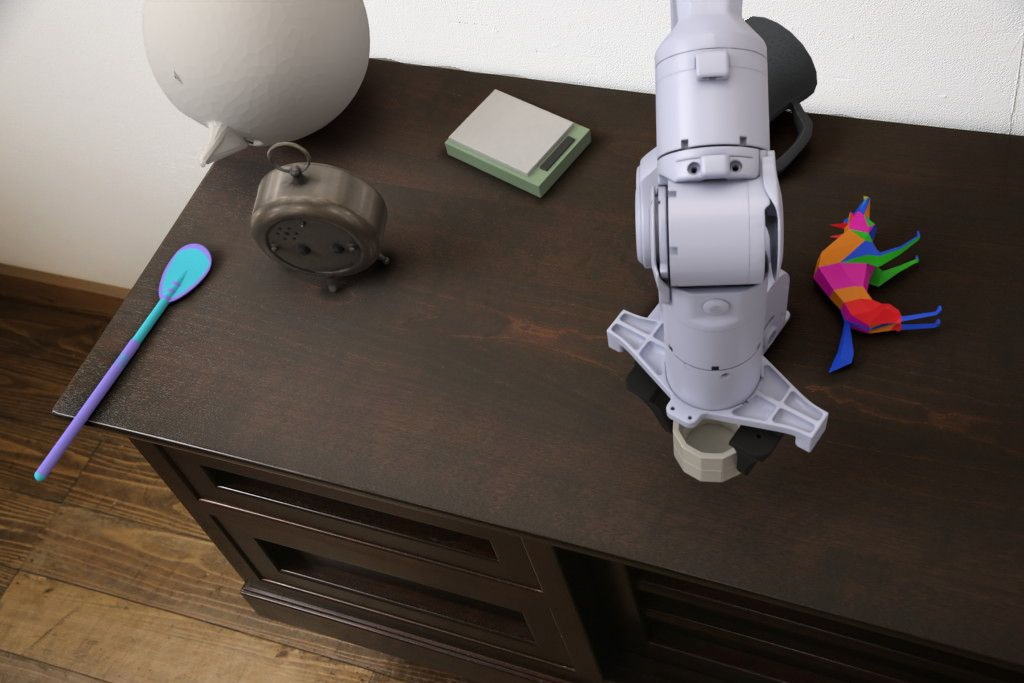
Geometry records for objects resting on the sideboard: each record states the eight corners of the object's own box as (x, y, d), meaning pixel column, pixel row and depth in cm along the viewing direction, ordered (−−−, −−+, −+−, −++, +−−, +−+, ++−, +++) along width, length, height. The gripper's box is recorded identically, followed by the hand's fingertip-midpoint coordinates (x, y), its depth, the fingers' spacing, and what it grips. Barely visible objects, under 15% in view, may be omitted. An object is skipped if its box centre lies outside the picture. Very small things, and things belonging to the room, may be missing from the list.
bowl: (764, 441, 75) (767, 412, 71) (725, 499, 73) (726, 472, 70) (699, 406, 77) (699, 377, 74) (660, 461, 75) (658, 434, 72)
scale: (591, 141, 100) (589, 125, 98) (540, 198, 97) (537, 182, 95) (498, 101, 105) (495, 85, 103) (447, 154, 102) (443, 138, 100)
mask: (246, -32, 113) (77, -41, 97) (361, -121, 102) (192, -148, 86) (319, 166, 113) (164, 188, 97) (442, 98, 102) (288, 111, 86)
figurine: (904, 173, 86) (789, 198, 88) (952, 338, 79) (827, 361, 81) (903, 201, 89) (793, 225, 91) (949, 362, 82) (829, 384, 84)
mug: (724, 51, 101) (643, 128, 98) (751, -3, 92) (663, 80, 90) (821, 136, 99) (741, 217, 97) (857, 89, 91) (771, 176, 88)
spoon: (185, 245, 100) (181, 237, 99) (222, 258, 99) (218, 250, 98) (19, 474, 88) (12, 467, 87) (59, 491, 87) (53, 485, 86)
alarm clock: (404, 248, 96) (356, 115, 83) (394, 297, 93) (343, 167, 80) (287, 249, 98) (222, 120, 85) (274, 297, 95) (204, 171, 82)
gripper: (572, 324, 64) (591, 434, 75) (791, 440, 58) (777, 541, 69) (637, 244, 67) (646, 362, 78) (854, 346, 61) (831, 459, 72)
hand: (712, 441), depth 74 cm, fingers closed on bowl, 5 cm apart
